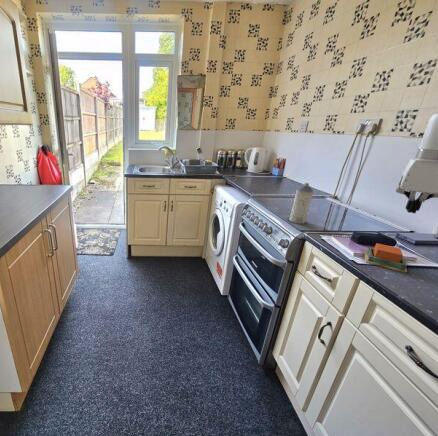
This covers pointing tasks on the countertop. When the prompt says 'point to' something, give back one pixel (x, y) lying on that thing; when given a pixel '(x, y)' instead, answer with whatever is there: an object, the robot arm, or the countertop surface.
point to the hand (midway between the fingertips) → (410, 211)
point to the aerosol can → (301, 204)
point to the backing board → (384, 261)
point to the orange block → (387, 253)
